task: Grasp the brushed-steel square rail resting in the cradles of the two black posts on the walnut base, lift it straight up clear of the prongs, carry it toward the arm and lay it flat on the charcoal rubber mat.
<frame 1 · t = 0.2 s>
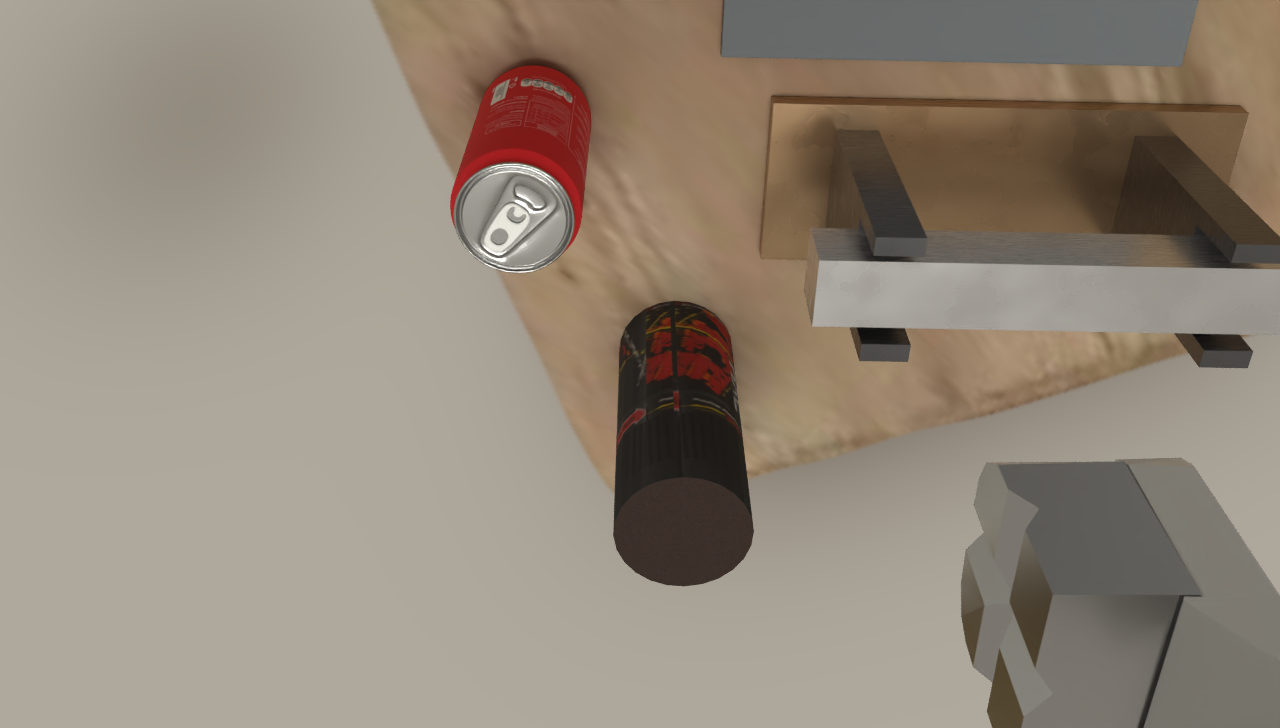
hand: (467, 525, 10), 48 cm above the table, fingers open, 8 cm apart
rail: (1043, 264, 52), point 9 cm above the table, touching rack
beverage can: (537, 110, 58), on the table
deodorant: (675, 348, 65), on the table
rack: (991, 180, 59), on the table
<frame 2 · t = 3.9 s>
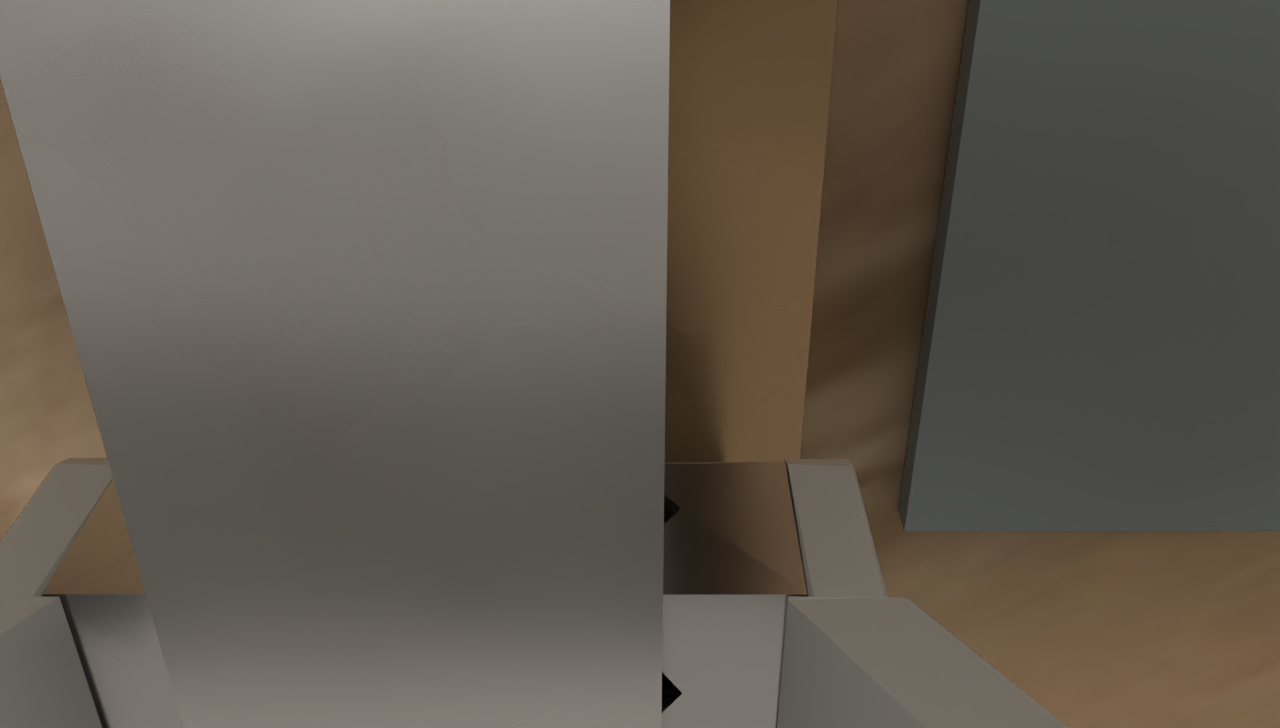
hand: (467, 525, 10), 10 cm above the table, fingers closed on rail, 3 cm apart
rail: (479, 473, 10), point 9 cm above the table, touching gripper, rack
rack: (547, 108, 18), on the table
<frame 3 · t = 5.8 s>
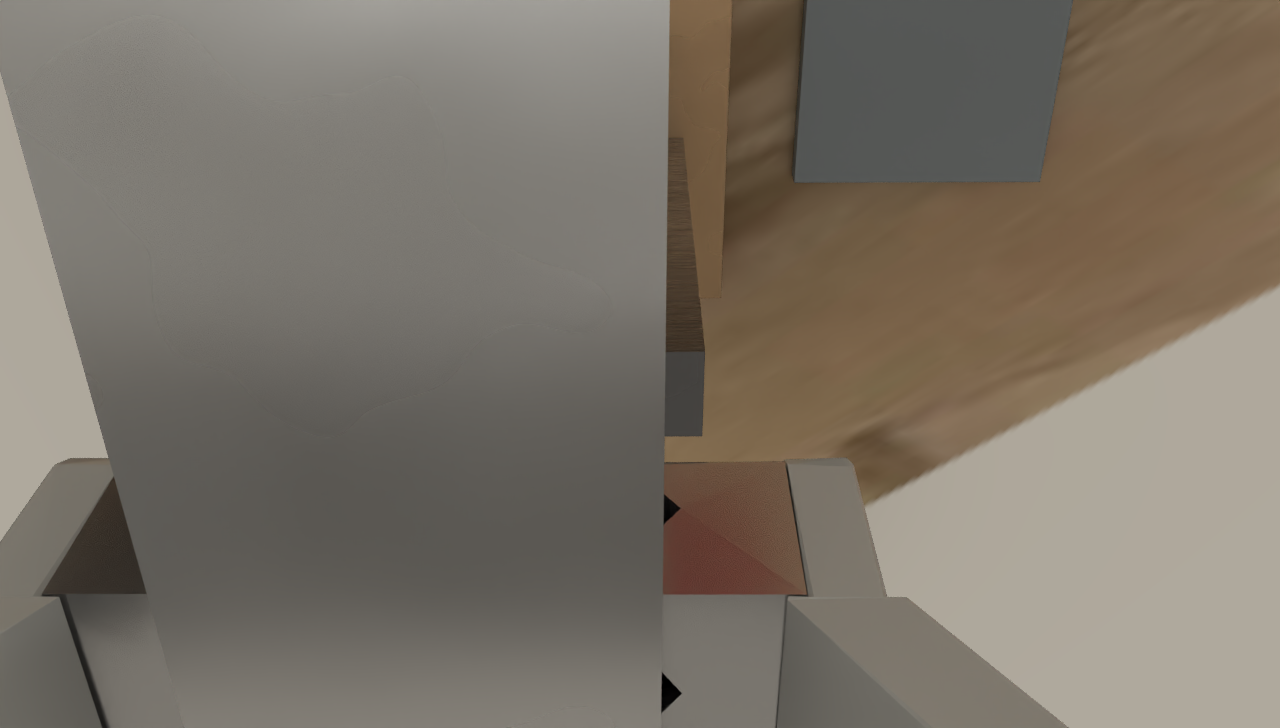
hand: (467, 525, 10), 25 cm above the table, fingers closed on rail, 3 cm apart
rail: (479, 472, 10), point 25 cm above the table, touching gripper
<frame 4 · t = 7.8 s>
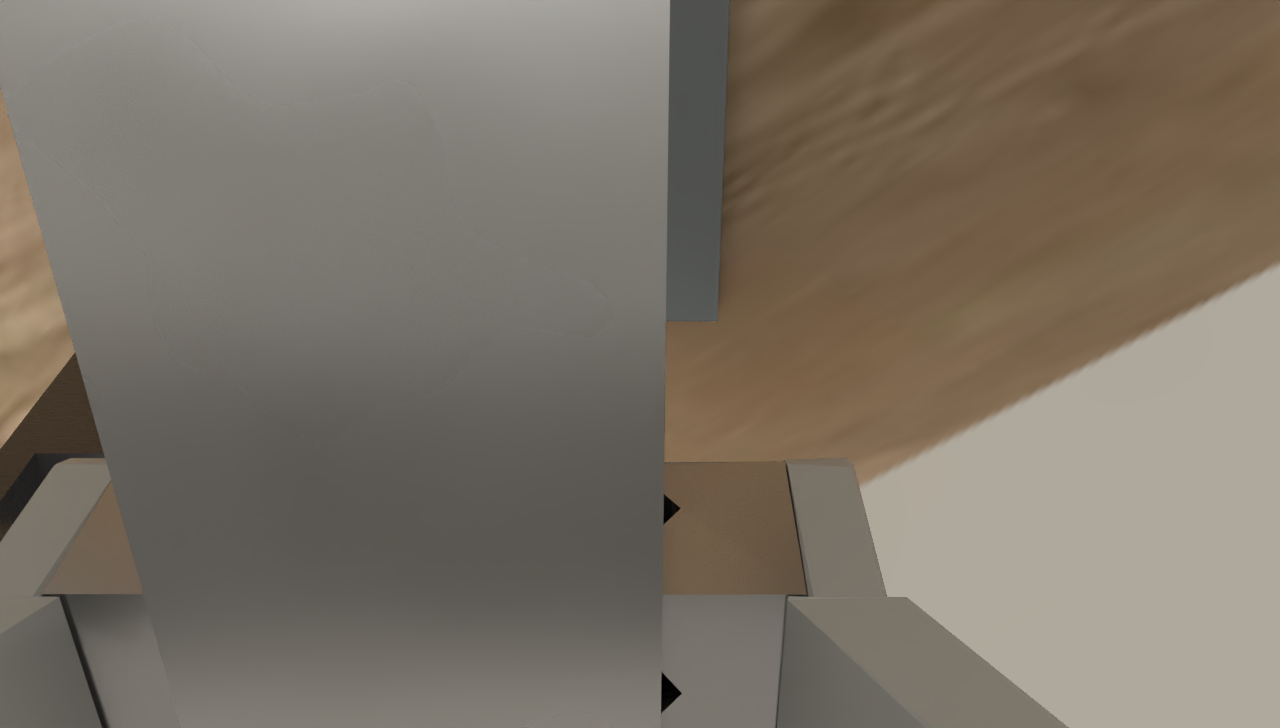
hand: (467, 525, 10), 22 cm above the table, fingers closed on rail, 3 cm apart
rail: (478, 475, 10), point 22 cm above the table, touching gripper
rack: (205, 47, 30), on the table
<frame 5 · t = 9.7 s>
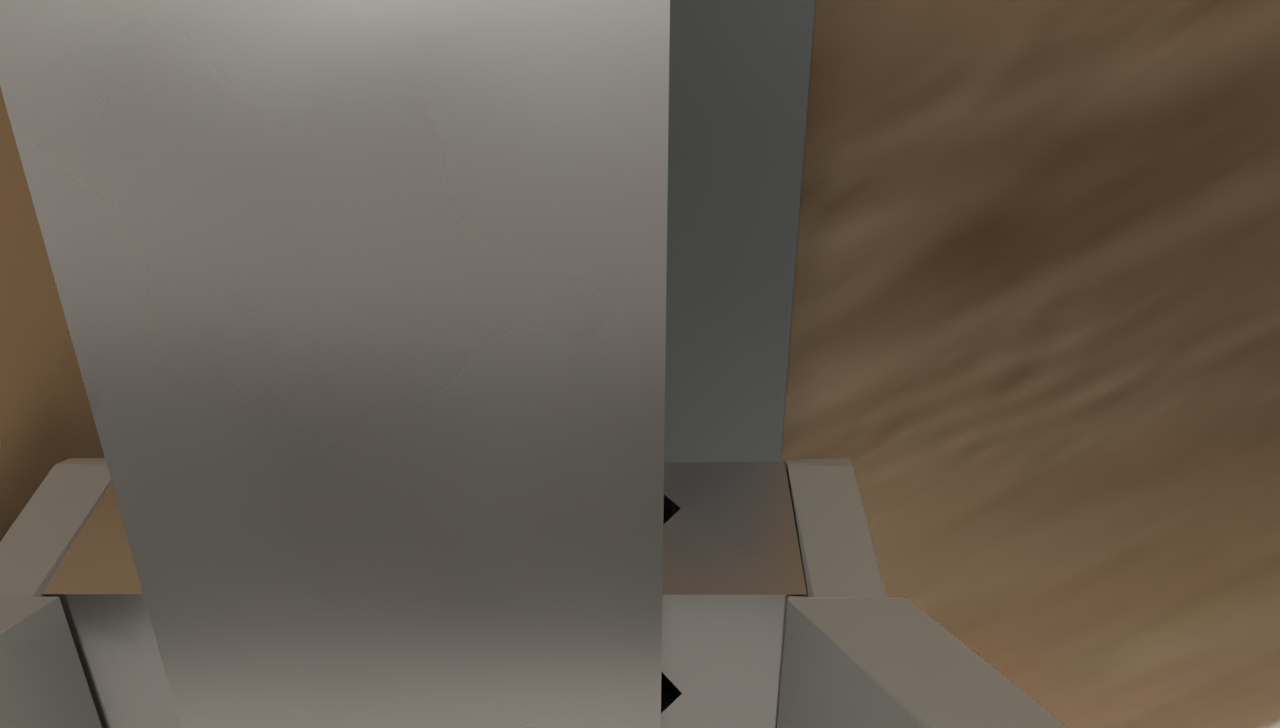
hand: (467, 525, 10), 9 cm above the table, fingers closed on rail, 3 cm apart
mat: (559, 110, 18), on the table
rail: (478, 476, 10), point 9 cm above the table, touching gripper
when the fingers open (3 cm above the table, at t = 11.5 s): rail stays where it is, resting on mat.
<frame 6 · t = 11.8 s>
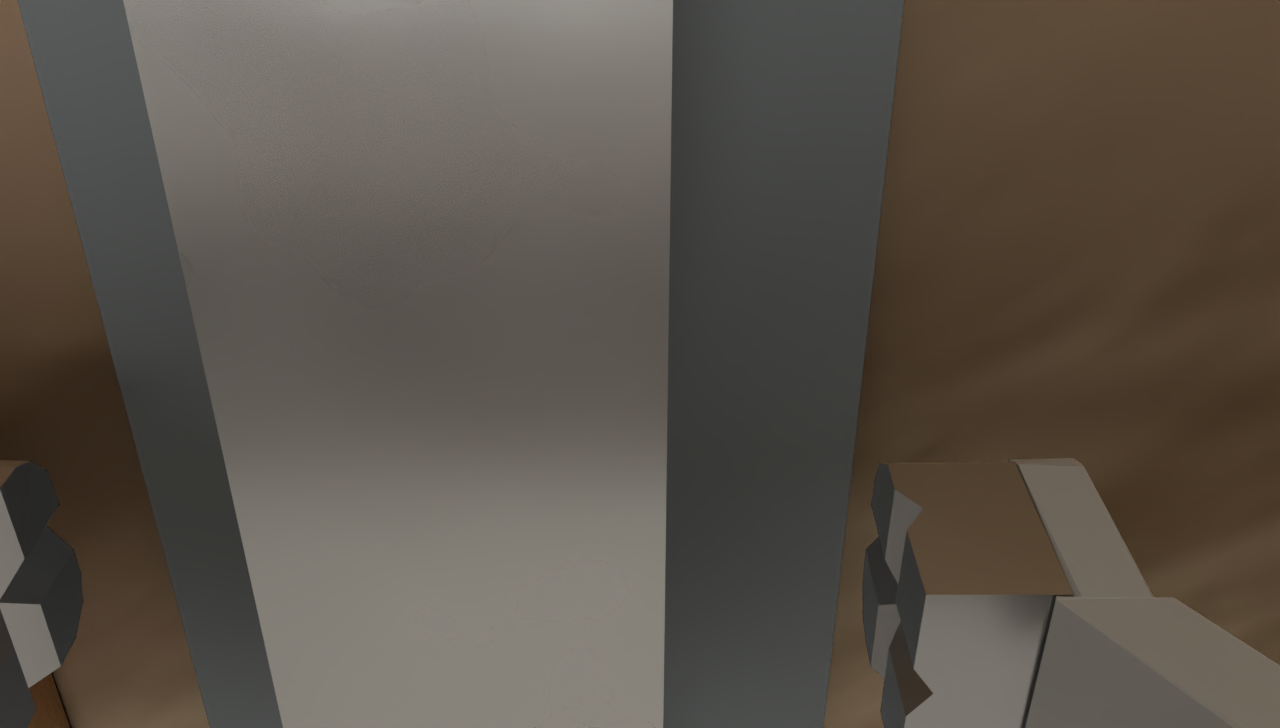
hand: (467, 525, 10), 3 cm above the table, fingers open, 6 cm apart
mat: (496, 353, 12), on the table
rail: (500, 385, 12), point 1 cm above the table, touching mat
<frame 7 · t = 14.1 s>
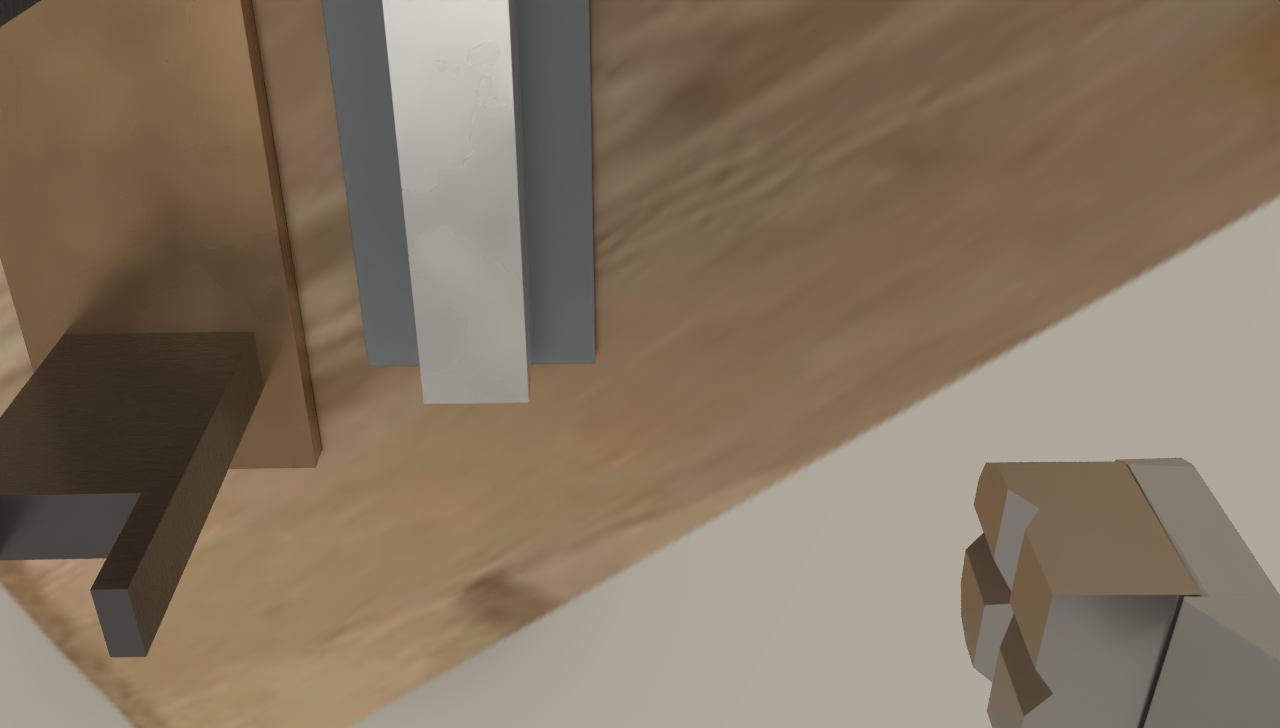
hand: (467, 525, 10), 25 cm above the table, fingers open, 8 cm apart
mat: (459, 19, 33), on the table
rail: (461, 25, 32), point 1 cm above the table, touching mat
rack: (127, 128, 34), on the table
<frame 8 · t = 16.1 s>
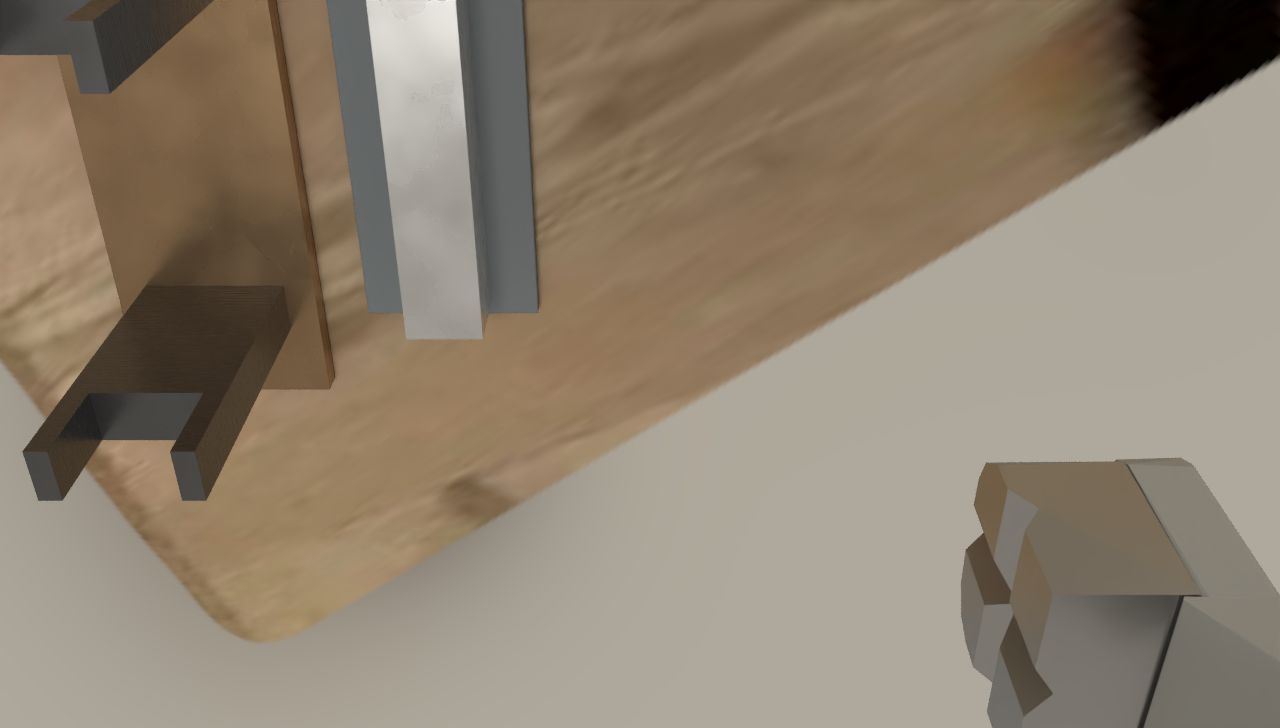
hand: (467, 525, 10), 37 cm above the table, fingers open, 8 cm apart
mat: (432, 59, 46), on the table
rail: (432, 64, 45), point 1 cm above the table, touching mat
rack: (193, 135, 47), on the table
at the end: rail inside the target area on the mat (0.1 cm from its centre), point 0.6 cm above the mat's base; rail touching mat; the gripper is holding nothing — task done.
